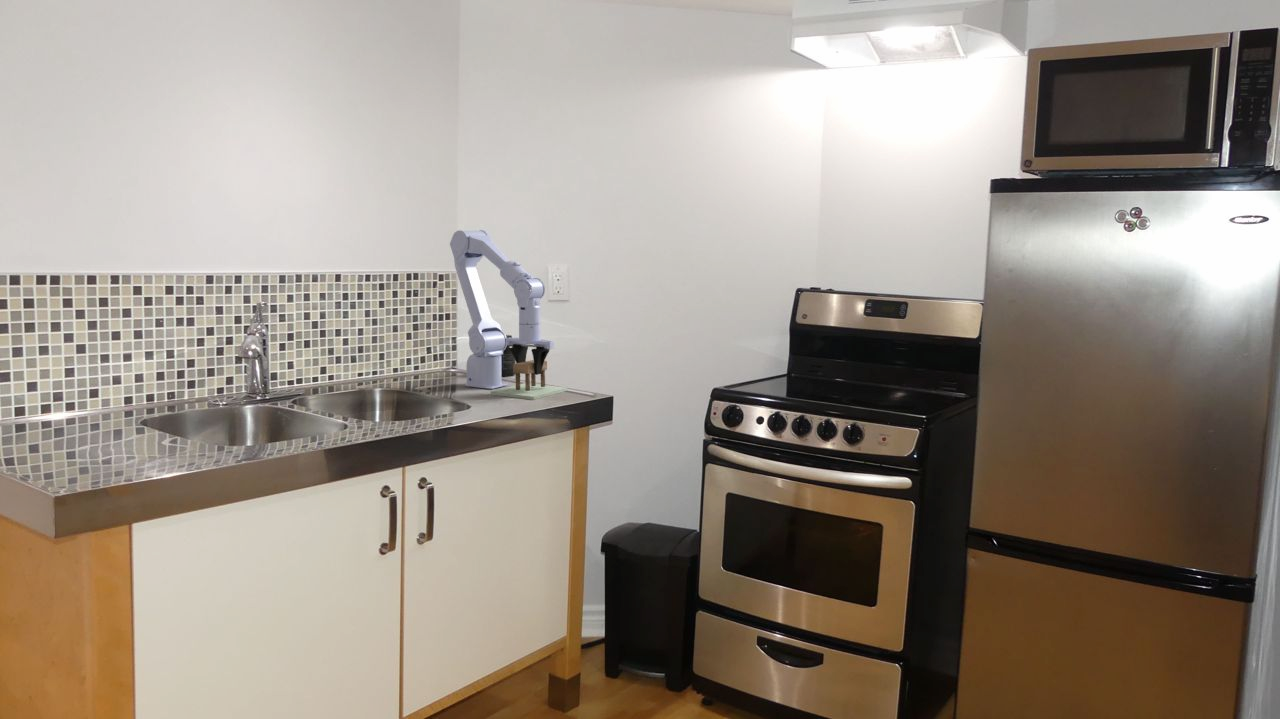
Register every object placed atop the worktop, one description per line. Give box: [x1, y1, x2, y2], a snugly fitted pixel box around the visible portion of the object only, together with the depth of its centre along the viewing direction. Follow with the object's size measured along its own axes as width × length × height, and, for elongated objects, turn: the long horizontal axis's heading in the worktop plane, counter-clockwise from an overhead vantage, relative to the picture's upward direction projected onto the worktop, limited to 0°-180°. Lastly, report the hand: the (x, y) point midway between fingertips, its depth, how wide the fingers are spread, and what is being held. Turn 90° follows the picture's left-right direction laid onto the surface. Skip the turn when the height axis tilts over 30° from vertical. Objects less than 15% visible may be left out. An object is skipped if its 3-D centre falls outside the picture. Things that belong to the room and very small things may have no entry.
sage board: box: [490, 382, 568, 401], centre depth 264 cm, size 14×16×1 cm
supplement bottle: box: [501, 334, 516, 377], centre depth 291 cm, size 7×7×12 cm
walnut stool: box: [513, 359, 548, 391], centre depth 262 cm, size 9×5×7 cm, turn 151°
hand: (529, 373), depth 262 cm, fingers closed on walnut stool, 5 cm apart
